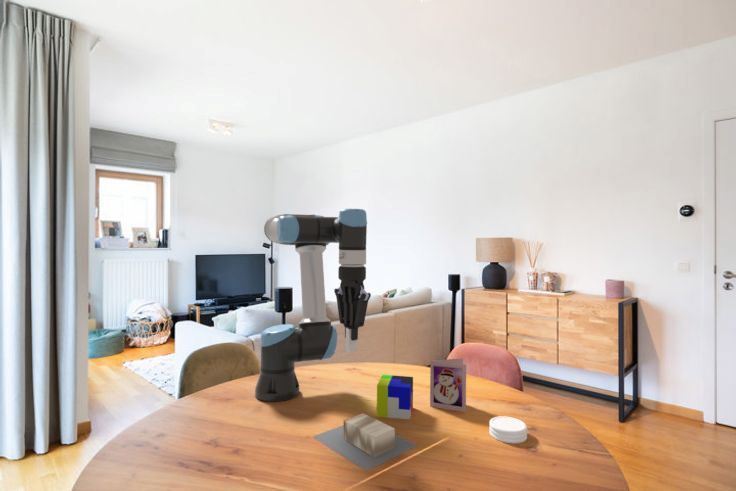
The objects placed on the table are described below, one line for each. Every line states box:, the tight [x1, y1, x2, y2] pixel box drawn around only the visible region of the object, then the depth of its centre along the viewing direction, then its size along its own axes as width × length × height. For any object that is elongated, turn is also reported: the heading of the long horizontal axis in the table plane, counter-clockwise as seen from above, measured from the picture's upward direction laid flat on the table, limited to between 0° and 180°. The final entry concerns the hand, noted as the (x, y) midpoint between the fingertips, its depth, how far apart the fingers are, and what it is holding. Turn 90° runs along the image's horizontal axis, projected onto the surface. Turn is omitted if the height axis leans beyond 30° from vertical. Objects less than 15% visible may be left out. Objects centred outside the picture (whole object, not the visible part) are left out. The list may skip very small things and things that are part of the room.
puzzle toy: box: [376, 374, 414, 420], centre depth 128 cm, size 10×10×10 cm
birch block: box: [343, 413, 396, 457], centre depth 108 cm, size 5×7×12 cm
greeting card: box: [429, 358, 467, 413], centre depth 134 cm, size 11×7×15 cm, turn 68°
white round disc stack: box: [488, 415, 528, 444], centre depth 114 cm, size 10×10×4 cm
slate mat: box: [312, 424, 419, 472], centre depth 109 cm, size 22×18×1 cm
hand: (351, 351), depth 113 cm, fingers closed
